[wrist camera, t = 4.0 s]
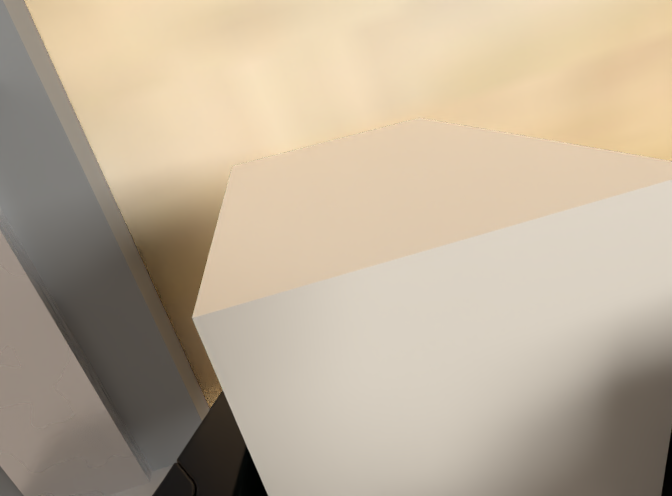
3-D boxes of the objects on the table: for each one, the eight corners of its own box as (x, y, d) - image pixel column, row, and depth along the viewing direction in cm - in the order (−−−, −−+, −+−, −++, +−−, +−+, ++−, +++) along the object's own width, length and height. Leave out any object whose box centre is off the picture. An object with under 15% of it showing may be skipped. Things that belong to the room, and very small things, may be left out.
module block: (419, 117, 9) (711, 168, 3) (454, 382, 13) (637, 649, 7) (218, 169, 9) (150, 329, 3) (307, 430, 12) (359, 761, 6)
